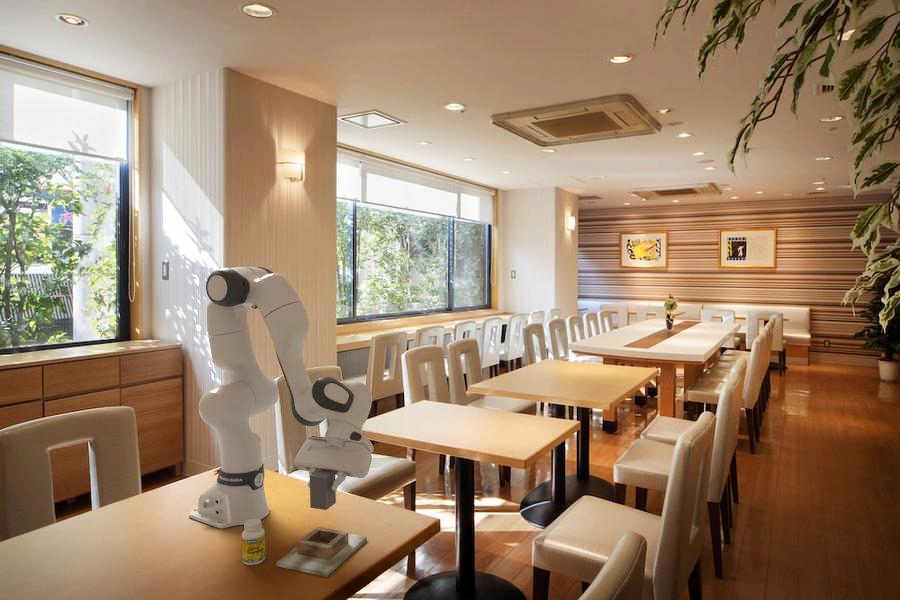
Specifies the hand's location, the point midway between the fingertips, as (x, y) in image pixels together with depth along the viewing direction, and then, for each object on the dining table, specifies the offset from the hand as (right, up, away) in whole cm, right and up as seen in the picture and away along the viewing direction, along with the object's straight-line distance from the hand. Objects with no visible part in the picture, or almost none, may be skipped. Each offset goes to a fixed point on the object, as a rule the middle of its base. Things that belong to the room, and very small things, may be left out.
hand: (321, 489), depth 144 cm
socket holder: (0, -17, +2) cm, 17 cm away
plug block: (0, -4, +1) cm, 4 cm away
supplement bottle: (-16, -17, -2) cm, 23 cm away
